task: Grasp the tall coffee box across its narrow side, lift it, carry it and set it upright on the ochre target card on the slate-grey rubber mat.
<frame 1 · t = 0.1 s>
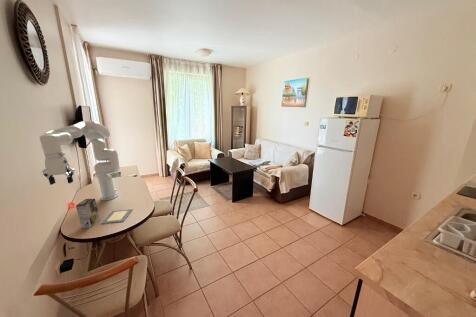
hand: (62, 183, 114), 31 cm above the table, tool pointing down, fingers open, 9 cm apart
coffee box: (91, 223, 127), on the table
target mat: (117, 216, 134), on the table
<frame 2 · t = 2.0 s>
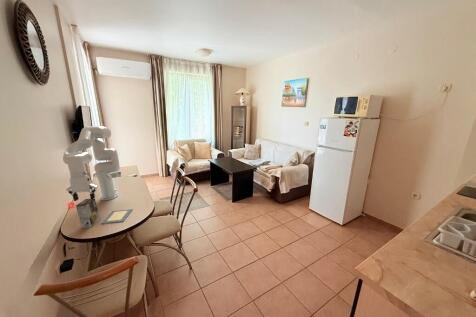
hand: (84, 199, 122), 18 cm above the table, tool pointing down, fingers open, 9 cm apart
nothing on the table moved.
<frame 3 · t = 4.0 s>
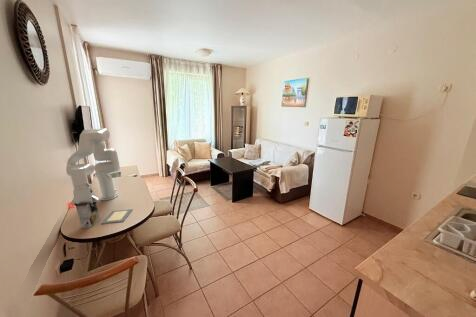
hand: (88, 211, 124), 9 cm above the table, tool pointing down, fingers closed on coffee box, 6 cm apart
coffee box: (91, 223, 127), on the table, touching gripper
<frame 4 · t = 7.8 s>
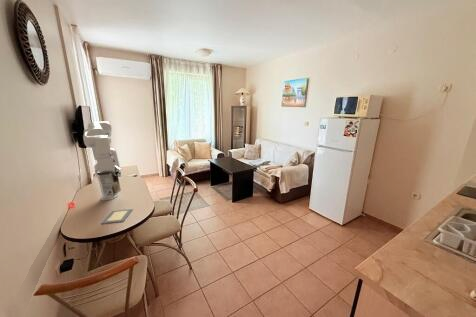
hand: (110, 181, 128), 27 cm above the table, tool pointing down, fingers closed on coffee box, 6 cm apart
coffee box: (113, 193, 130), point 17 cm above the table, touching gripper
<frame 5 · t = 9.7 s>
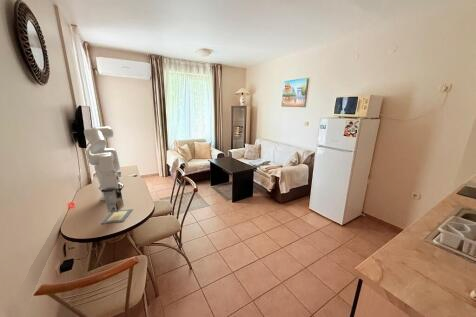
hand: (113, 197, 131), 15 cm above the table, tool pointing down, fingers closed on coffee box, 6 cm apart
coffee box: (116, 209, 133), point 6 cm above the table, touching gripper
when the fingers open (11 cm above the table, at t = 11.5 s): coffee box drops 1 cm, resting on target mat.
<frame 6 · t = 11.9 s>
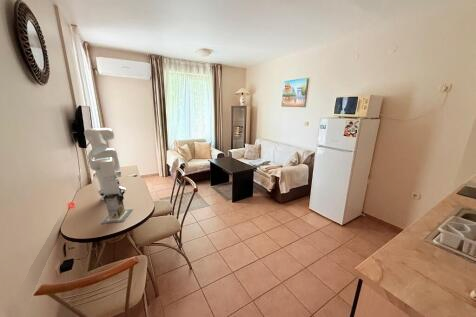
hand: (114, 201, 131), 12 cm above the table, tool pointing down, fingers open, 9 cm apart
coffee box: (117, 215, 134), point 1 cm above the table, touching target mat
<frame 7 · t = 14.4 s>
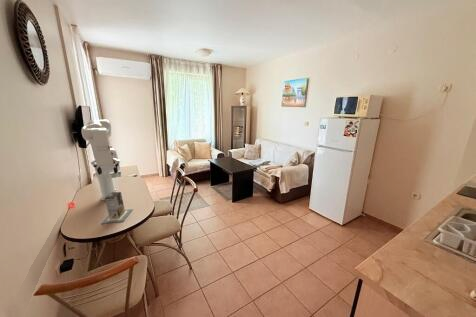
hand: (108, 173, 126), 32 cm above the table, tool pointing down, fingers open, 9 cm apart
nothing on the table moved.
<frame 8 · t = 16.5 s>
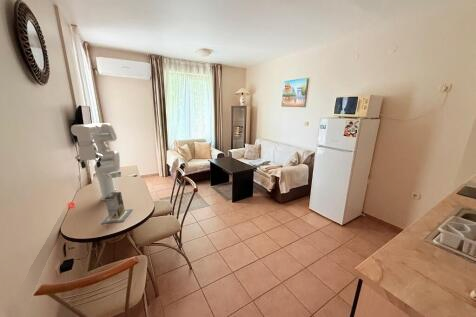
hand: (91, 167, 134), 34 cm above the table, tool pointing down, fingers open, 9 cm apart
nothing on the table moved.
at the end: coffee box inside the target area on the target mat (0.3 cm from its centre), point 0.5 cm above the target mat's base; coffee box tilted 0°; the gripper is holding nothing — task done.
